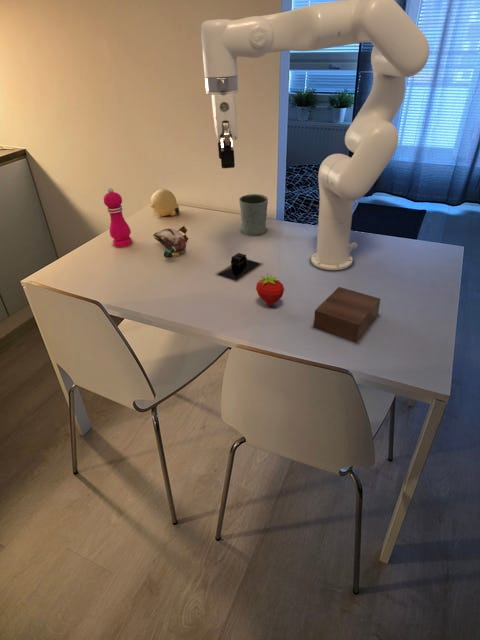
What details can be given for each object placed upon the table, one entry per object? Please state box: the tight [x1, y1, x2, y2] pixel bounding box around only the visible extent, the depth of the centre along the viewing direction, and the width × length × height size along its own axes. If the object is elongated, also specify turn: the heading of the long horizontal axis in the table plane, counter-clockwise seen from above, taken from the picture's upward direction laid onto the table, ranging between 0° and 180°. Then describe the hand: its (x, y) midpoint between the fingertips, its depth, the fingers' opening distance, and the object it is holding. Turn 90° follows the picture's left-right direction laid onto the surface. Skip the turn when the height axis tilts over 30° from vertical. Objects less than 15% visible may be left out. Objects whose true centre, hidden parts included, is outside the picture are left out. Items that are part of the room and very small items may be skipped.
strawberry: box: [255, 273, 285, 307], centre depth 106 cm, size 6×8×10 cm
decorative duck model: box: [152, 225, 190, 259], centre depth 137 cm, size 15×8×15 cm
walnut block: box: [313, 286, 382, 343], centre depth 100 cm, size 13×11×5 cm
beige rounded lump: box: [149, 188, 180, 218], centre depth 167 cm, size 10×12×11 cm
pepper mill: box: [103, 187, 132, 248], centre depth 142 cm, size 7×7×20 cm
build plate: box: [217, 252, 261, 281], centre depth 126 cm, size 12×7×5 cm, turn 143°
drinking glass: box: [238, 193, 269, 236], centre depth 148 cm, size 10×10×12 cm
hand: (226, 162), depth 104 cm, fingers open, 9 cm apart
